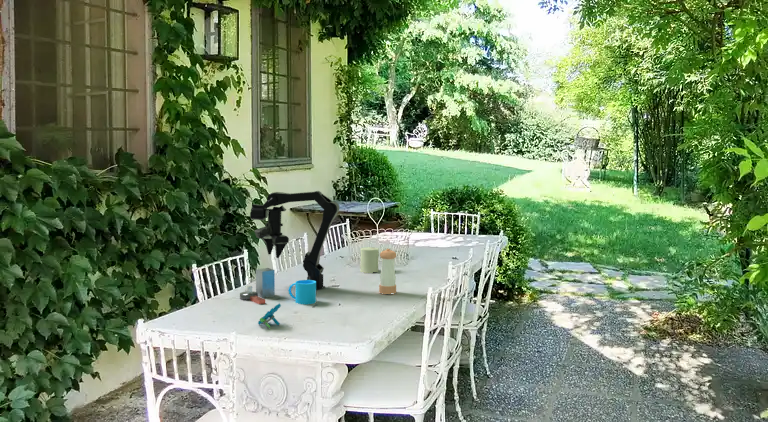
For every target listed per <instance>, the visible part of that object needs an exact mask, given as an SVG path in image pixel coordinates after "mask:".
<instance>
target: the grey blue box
mask: <svg viewBox="0 0 768 422" xmlns="http://www.w3.org/2000/svg"><path fill="white" fill-rule="evenodd" d="M275 280H276V279H275V269H272V268H269V267H265V268H258V269H255V292H257V293H258V297H260V298H263V299H266V298H270V297H272V298H273V297H275V294H276V293H275V292H276V291H275V290H276V288H275V287H276V286H275Z"/></svg>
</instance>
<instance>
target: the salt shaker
mask: <svg viewBox="0 0 768 422" xmlns="http://www.w3.org/2000/svg"><path fill="white" fill-rule="evenodd" d="M379 257H380V259H381V270H380V275H379V285H378V287H379V288H378V292H380V293H383V294H391V293H396V294H397V284H396V279H397V278H396V277H397V276H396V271H395V259H396V257H397V253H396V251H394V250H391V249H390V248H386V250H385V249H384V250H382V251H381V252H380V253H379ZM380 293H379V294H380ZM383 294H382V295H383Z"/></svg>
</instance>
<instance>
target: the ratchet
mask: <svg viewBox="0 0 768 422" xmlns="http://www.w3.org/2000/svg"><path fill="white" fill-rule="evenodd" d="M239 299H240V300H241V301H251V302H253V303H255V304H257V305H264V304H266V298H261V297H259V296H258V293H257V292H256V291H253V286H252V285H246V286H245V289H244V291H243V292H240V293H239Z"/></svg>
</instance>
